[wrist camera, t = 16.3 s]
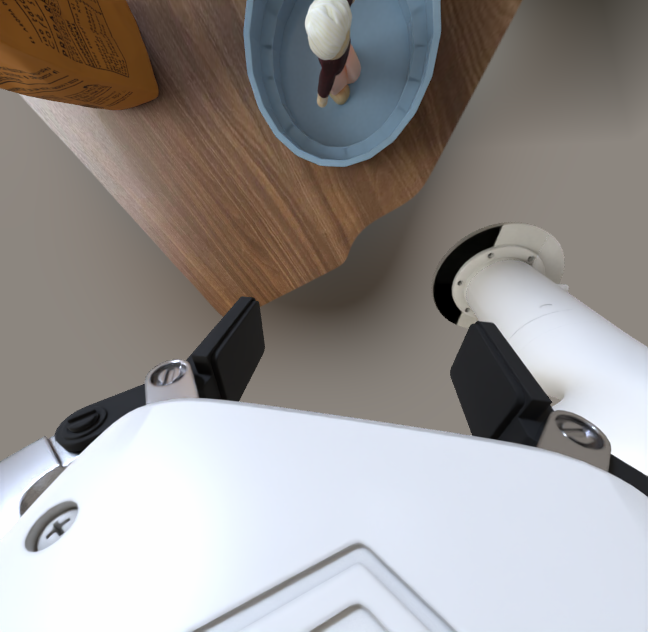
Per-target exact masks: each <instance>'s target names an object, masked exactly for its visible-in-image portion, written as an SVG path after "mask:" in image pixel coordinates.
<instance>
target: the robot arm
mask: <svg viewBox="0 0 648 632" xmlns="http://www.w3.org/2000/svg"><path fill="white" fill-rule="evenodd" d="M488 254H489V255H488ZM458 281H459V282H458ZM568 289H569V288H568V285H565V284H555V283H554V282H553V281H551V280H550V279H548V278H547V277H546V276H545V268H544V265H543V262H542V260H541V259H540V258H539V257H538V255H536V254H535V253H534V252H532V251H531V250H529V249H527V248H525V247H521V246H518V245H500V246H496V247H492V248H489V249H486V250H484V251H481V252H480V253H478V254H476V255H475V256H473V257H472V258H470V259H469V260H468V261H467V262H466V263H465V264H464V265H463V266H462V267H461V268H460V269H459V271H458V273H457V274H456V276H455V278H454V281H453V285H452V296H453V300H454V302H455V304H456V305H457V307H458V308H459V309H460V310H461V311H462V312H463V313H465V314H466V315H468V316H470V317H474V318H477V319H478V320H479V321H477V322H476V323H475V324H471V325H470V327H469V329H468V332H467V334H466V336H465V339H464V341H463V343H462V345H461V348H460V349H459V352H458V354H457V356H456V358H455V361H454V363H453V365H452V367H451V370H450V376H451V379H452V382H453V384H454V387H455V390H456V393H457V395H458V398H459V401H460V403H461V406H462V409H463V412H464V414H465V417H466V420H467V422H468V425H469V428H470V430H471V433H472V436H470V435H464V434H458V433H450V432H445V431H438V430H431V429H425V428H418V427H412V426H404V425H399V424H392V423H385V422H378V421H372V420H365V419H358V418H352V417H345V416H338V415H331V414H324V413H317V412H310V411H303V410H296V409H289V408H282V407H275V406H268V405H261V404H253V403H245V402H239V400H240V398H241V396H242V394H243V392H244V390H245V388H246V386H247V384H248V382H249V381H250V379H251V377H252V374H253V373H254V371H255V369H256V367H257V365H258V363H259V361H260V359H261V357H262V355H263V353H264V349H265V344H264V336H263V329H262V321H261V313H260V306H259V302H258V301H256V300H255V298H252V297H240V298H239V300H238V301H237V302H236V303H235V304H234V305H233V307H232V308H231V309H230V310H229V311H228V312H227V314H226V315H225V316H224V317H223V318H222V319H221V321H220V322H219V323H218V324H217V325H216V326H215V327H214V329H213V330H212V331H211V332H210V333H209V334H208V336H207V337H206V338H205V339H204V340H203V341H202V343H201V344H200V345H199V346H198V347H197V348H196V350H195V351H194V352H193V353H192V354H191V355H190V356H189V358H188V359H187V360H182V359H173V360H169V361H165V362H163V363H160V364H159V365H157V366H155V367H154V368H153V369H152V370H151V371H149V373H148V374H147V376H146V379H145V384H143V385H141V386H138V387H135V388H133V389H130V390H128V391H125V392H122V393H120V394H117V395H115V396H112V397H109V398H107V399H104V400H102V401H99V402H97V403H94V404H92V405H89V406H86V407H84V408H82V409H80V410H78V411H76V412H74V413H73V414H71V415H70V416H69V417H67V418H66V419H65V420H64V421H63V422H62V423H61V424H60V426H59V427H58V428H57V430H56V433H55V435H54V436H53V437H51V438H49V439H48V438H47V437H46V436H44V437H42V438H41V439H39V440H37V441H35V442H34V443H32V444H30V445H28V446H27V447H25V448H23V449H21V450H20V451H18V452H16V453H14V454H12V455H11V456H9V457H7V458H6V459H4V460H2V461H0V632H648V347H647V346H645V345H643V344H642V343H641V342H639V341H637V340H636V339H634V338H633V337H631V336H630V335H628V334H627V333H625V332H624V331H622V330H621V329H619V328H618V327H616V326H615V325H613V324H612V323H611V322H609V321H608V320H606V319H605V318H603V317H602V316H601V315H599V314H597V313H596V312H595V311H593V310H592V309H591V308H589V307H588V306H586V305H585V304H583V303H582V302H581V301H579V300H578V299H577V298H575V297H574V296H572V295H571V294H570V293H568ZM547 395H549V396H552V397H554V398H558V399H561V401H560V402H559V403H557V404H556V405H554V406H553V407H551V406H550V404H551V403H552V401H551V400H550V399H549V397H548V396H547Z"/></svg>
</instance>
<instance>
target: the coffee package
mask: <svg viewBox="0 0 648 632" xmlns="http://www.w3.org/2000/svg"><path fill="white" fill-rule="evenodd" d="M0 88H2V89H5V90H8V91H12V92H16V93H19V94H23V95H27V96H31V97H36V98H41V99H46V100H51V101H57V102H63V103H69V104H75V105H80V106H84V107H90V108H100V109H108V110H123V109H128V108H132V107H135V106H138V105H140V104H143V103H146V102H149V101H151V100H153V99H155V98H157V97H158V94H159V90H158V85H157V82H156V79H155V76H154V73H153V69H152V66H151V63H150V59H149V56H148V53H147V51H146V48H145V45H144V42H143V40H142V38H141V34H140V31H139V28H138V25H137V23H136V20H135V18H134V16H133V15H132V13H131V11H130V9H129V6H128V4H127V2H126V0H0Z"/></svg>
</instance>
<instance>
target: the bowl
mask: <svg viewBox="0 0 648 632" xmlns="http://www.w3.org/2000/svg"><path fill="white" fill-rule="evenodd" d="M313 1H314V0H247V5H246V14H245V23H244V44H245V54H246V64H247V74H248V77H249V80H250V83H251V86H252V89H253V92H254V95H255V99H256V102H257V105H258V108H259V110H260V112H261V113H262V115H263V117H264V118H265V120H266V121H267V123H268V125H269V126H270V128H271V130H272V131H273V133H274V134H275V136H276V137H277V138H278V139H279V140H280V141H281V142H282V143H283V144H284V145H286V146H287V147H288V148H289V149H290V150H291V151H292V152H293V153H294V154H295V155H297V156H299V157H301V158H303V159H306V160H308V161H310V162H313V163H315V164H317V165H320V166H335V167H346V166H349V165H352V164H356V163H359V162H362V161H365V160H368V159H370V158H372V157H373V156H375V155H376V154H377V153H379V152H380V151H381V150H383V149H384V148H385V147H387V146H388V145H389V144H391V143H392V142H393V141H394V140H395V139H396V138H397V137H398V135H399V134H400V133H401V132H402V130H403V129H404V128H405V126H406V125H407V124H408V123H409V121H410V120H411V119H412V117H413V116H414V115H415V113H416V111H417V109H418V107H419V105H420V103H421V100H422V98H423V96H424V94H425V91H426V89H427V87H428V85H429V83H430V80H431V78H432V75H433V70H434V65H435V60H436V55H437V50H438V45H439V41H440V36H441V2H440V0H355V1H354V2H353V3H352V5H351V7H350V10H351V13H352V21H351V27H350V39H351V45H352V46H353V48H354V51H355V52H356V54H357V56H358V59H359V62H360V65H361V72H360V76H359V77H358V79H357V80H356V81H355V82H354V83H351V84H348V86H349V88H350V95H349V98H348V100H347V101H346V102H345V103H344V104H342V105H338V104H337V103H336V102H335V101H334V100H333V99H332V98H331V97H330V95H329V96H328V102H327V105H326V106H325V107H323V108H321V107H320V106H319V105H318V104H317V98H318V92H317V89H318V83H319V75H320V71H321V69H322V67H321V65H320V63H319V60H318V57H317V56H316V55H315V54H314V53H313V52H312V50H311V48H310V46H309V41H308V34H307V32H306V29H305V19H306V16H307V14H308V10H309V7H310V5H311V4H312V3H313Z"/></svg>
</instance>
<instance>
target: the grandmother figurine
mask: <svg viewBox="0 0 648 632" xmlns="http://www.w3.org/2000/svg"><path fill="white" fill-rule="evenodd" d="M354 1H355V0H314V1H313V3H312V4H311V5H310V7H309V10H308V14H307V16H306V19H305V29H306V32H307V34H308V41H309V46H310V48H311V50H312V52H313V53H314V54H315V55H316V56H317V57H318V60H319V63H320V65H321V67H322V69H321V71H320V75H319V83H318V89H317V92H318V98H317V104H318V105H319V106H320V107H321V108H323V107H325V106H326V105H327V102H328V96H329V95H330V97H331V98H332V99H333V100H334V101H335V102H336V103H337V104H338V105H342V104H344V103H345V102H346V101H347V100H348V98H349V95H350V88H349V86H348V84H351V83H354V82H355V81H356V80H357V79H358V77H359V76H360V72H361V65H360V62H359V59H358V56H357V54H356V52H355V51H354V48H353V46H352V45H351V39H350V27H351V21H352V13H351V10H350V7H351V5H352V3H353V2H354Z"/></svg>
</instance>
